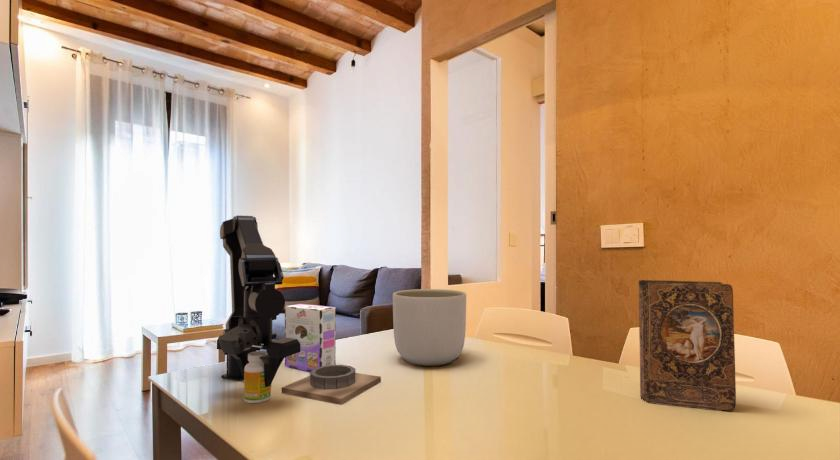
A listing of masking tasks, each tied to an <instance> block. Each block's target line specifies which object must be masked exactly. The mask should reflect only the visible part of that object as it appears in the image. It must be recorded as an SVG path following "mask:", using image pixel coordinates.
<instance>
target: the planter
mask: <svg viewBox="0 0 840 460" xmlns="http://www.w3.org/2000/svg"><path fill="white" fill-rule="evenodd" d="M392 321H393V327H392V328H393V339H394V344H395V345H394V346H395V348H396V351H397V353H398V354H399V355H400V356H401V358H402V359H404V360H405V361H407V362H408V363H410V364H411V365H416V366H423V367H424V366H425V367H434V366H436V367H437V366H443V365H447V364H450V363H451V362H453V361H454V360H456V359H457V358H458V357H459V355H460V354H461V353H462V351H463V348H464V345H465V341H466V340H465V339H466V330H467V328H466V326H467V325H466V324H467V293H466V291H465V292H464V291H461V290H455V289H443V288H442V289H441V288H420V289H419V288H417V289H406V290H405V289H404V290H398V291H395V292H393V293H392Z"/></svg>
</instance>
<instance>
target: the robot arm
mask: <svg viewBox="0 0 840 460" xmlns="http://www.w3.org/2000/svg"><path fill="white" fill-rule="evenodd" d="M219 237H220V240H222V247H223V249H224V250H225V252H226V253H227V254H228V255H229V264H230V291H231V295H230V296H231V314H230V315H229V316H228V318H227V321H226V322H225V328H224V329H223V332H222V335H219V337H217V340H216V350H221V353H222V354H223V356H226V373H224V374H222V375H220V377H221V378H223V379H227V380H233V381H238V382H239V381H244V368H245V366H246V364H248V363H249V361H248V354H249V353H251V352H255V351H261V350H263V351H264V350H265V351H266V352H267V354H266V355H265V356H261V357H259V358H260V359H261V360H262V361H263V363H264V380H265V387H269V386H270V385H271V386H272V383H273V381H274V379H275V376H276V375H277V373H278V370H279V368H280V367H281V364H282V362H283V361H284V360H285V357H287V356H290V355H293V354H296V353H299V352H300V342H299V340H298V339H293V338H285V337H282V338H279V339H277V333H273V321H274V320H277V316H279V315H280V314H281V313H282V312H283V311H284V310H285V306H286V299H285V297H284V295H283V293H282V292H281V291H280V290H278V289H276V286H279V285H283V280H284V274H283V270H282V266H281V263H280V262H279V258H278V257H276V254H275V252H274V251H273V250H272V248H270V247H268V246H266V245H264V242H263V240H262V238H261V235H260V231H259V228H258V222H257V218H256V217H255V216H254V215H235V216H233V217H232V218H230V219H227V220H224V221H223V222H222V223H221V225H220V227H219ZM274 339H275V340H274Z"/></svg>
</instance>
